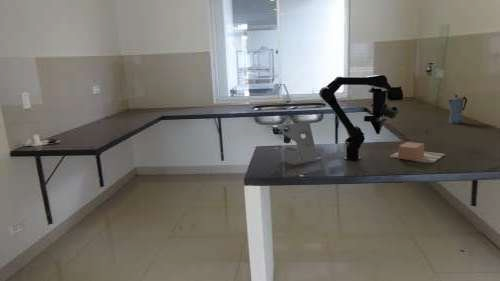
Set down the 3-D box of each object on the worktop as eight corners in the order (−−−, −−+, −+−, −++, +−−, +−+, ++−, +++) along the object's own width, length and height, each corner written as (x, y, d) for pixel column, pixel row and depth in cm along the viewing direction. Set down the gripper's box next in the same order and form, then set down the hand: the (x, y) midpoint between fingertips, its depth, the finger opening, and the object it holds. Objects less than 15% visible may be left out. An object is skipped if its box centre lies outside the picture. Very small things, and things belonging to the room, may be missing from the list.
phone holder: (292, 165, 176) (292, 127, 172) (281, 160, 185) (280, 125, 181) (322, 159, 184) (321, 123, 180) (309, 155, 193) (309, 121, 189)
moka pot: (442, 122, 268) (443, 94, 264) (458, 120, 272) (460, 93, 268) (452, 124, 259) (454, 95, 255) (470, 122, 264) (472, 94, 259)
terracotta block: (415, 148, 170) (424, 143, 178) (398, 146, 176) (407, 141, 184) (415, 160, 172) (423, 155, 179) (398, 158, 177) (406, 153, 185)
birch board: (432, 163, 168) (432, 162, 168) (389, 157, 182) (389, 156, 182) (444, 155, 181) (444, 154, 181) (403, 150, 194) (403, 149, 194)
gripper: (387, 104, 164) (386, 139, 167) (403, 100, 177) (402, 132, 180) (363, 103, 171) (363, 136, 174) (381, 99, 184) (380, 130, 187)
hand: (378, 134), depth 179 cm, fingers closed
